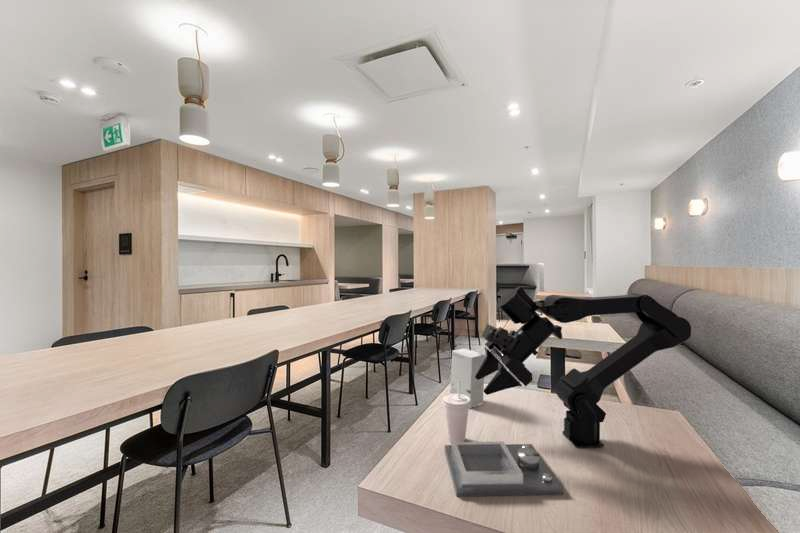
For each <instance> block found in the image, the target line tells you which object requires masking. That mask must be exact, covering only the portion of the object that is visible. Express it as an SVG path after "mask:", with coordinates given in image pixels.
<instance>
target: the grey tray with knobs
mask: <svg viewBox="0 0 800 533" xmlns="http://www.w3.org/2000/svg"><path fill="white" fill-rule="evenodd" d="M450 443H451V444H447V445H446V444H444V455H445V459H446V462H447V465H448V469H449V472H450V476H451V481H452V484H453V488H454V491H455V495H456V497H499V496H500V497H501V496H502V497H503V496H506V497H507V496H512V497H513V496H557V495H558V496H561V495H564V486H563V484H562V483H561V480H559V479H558V477H557V476H556V475H555V474H554V472H553V471H552V469H551V468H550V466H548V464H547V462H546V461H545V460H544V459H543V458H542V456H541V455H540V453H539V452H538V451H537V450H536V448H535V447H534V445H533V444H532V443H522V444H521V443H517V444H514V443H513V444H512V443H510V444H507V443H505V442H504V441H465V442H450Z"/></svg>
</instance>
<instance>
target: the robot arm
mask: <svg viewBox="0 0 800 533" xmlns="http://www.w3.org/2000/svg"><path fill="white" fill-rule="evenodd" d="M496 306H497V308H498V309H499V310H500V311H501V312H502V313H503V314H504V315H505V316H506V317H507V318H508V319H509V320H510V321H511V322H512V323H513V324H515V325H517V324H521V326H520V327H519V329H518V330H517V331H516V330H510V331H509V330H507V329H504V328H503V327H502V326H500V327H498V328H497V327H495V326H493V325H491V324H488V323H487V324H486V325H485V328H484V330H483V332H482V333H481V337H483V339H484V340H486V341H487V342H486V343H485V344H484V346H485V347H484V351H485V352H484V355H485V359H484V361H483V363H482V365H481V366H480V368H479V370H478V372H477V373H476V375H475V378H476V379H477V380H479V379H481V378H484V379H485V378H486V377H487V376H489V375H491V374H493V373H495V372H496V373H495V375H494V376H493V377H492V378H491V380H490V381H489V383H488V384H487V385H486V386H485V387H484V388H483V394H485V395H487V396H488V395H492V394H495V393H499V392H500V391H501V392H502V391H505V390H507V389H512V388H516V387H522V384H523V385H524V386H525V387H527V386H528V385H530V383H531V382H532V381H533V373H532V372H531V371H530V370H529V369H528V368H526V364H524V362H525V361H526V360H528V358H529V357H530V356H531V355H533V356H536V355H538V354H539V351H538V350H537V349H538V348H540V347H541V346H542V345H543V344H544V343H545V342H546V341H547V340H548V339H549V338H550V337H551V336H554V337H555V338H557V339H559V340H562V339H563V332H562V329H563V327H562V326H561V325H558V324H554V323H553V322H552V321H551V320H554V321H557V322H558V323H562V324H568V323H572V322H577V321H580V320H583V319H584V318H587V317H589V316H601V315H602V316H603V315H616V314H617V315H619V314H628V313H629V314H630V313H631V314H632V313H634V315H635V316H636V318H637V320H638V321H640V322H641V324H640V326H639V328H638V330H637V333H636V335H635V336H634V337H632V338H630V340H628V341H626V342H625V343H624V344H622V345H621V346H620V347H618V348H617V349H616V350H614V351H613V352H612V353H611V352H610V354H609V355H607V356H606V357H604V358H603V359H601V360H600V361H599V362H597V363H596V364H595V365H593V366H592V367H591V368H589V369H588V370H586V371H580V370H578V369H576V368H572V369H570V370H569V371H568V372H567V374H565V375H563V376H560V377H559V379H560V380H559V381H558V382H557V383H556V387H555V388H556V389H555V391H556V392H555V393H556V396H557V398H559V399H560V400H561V401H562V403H563V406H564V407H565V408H567V409H568V410H566V411H565V417H564V419H563V431H562V434H563V437H565V438H567V440H568V441H569V442H570V443H571V444H572V445H573V446H574V447H575V448H605V444H604V442H602V441H601V423H603V422H604V420H605V418H606V415H607V413H606V412H605V410H604V409H602V407H600V406H599V405H598V403H599V402H600V401H601V398H602V395H603V393H604V391H605V389H606V388H608V387H610V385H612V384H613V383H614V382H616V381H617V380H619V378H621V377H623V376H624V375H625V374H627V373H628V372H629V371H631V370H632V369H634V368H635V367H637V366H638V365H639V364H640V363H642V362H643V361H645V360H646V359H647V358H648V357H650V356H652V355H653V354H654V353H656V352H658V351H663V350H668V349H671V348H675V347H677V346H678V345H681V344H683V343H686V342H687V341H688V340H689V339H690V338H691V336H692V326H691V323H690V322H689V321H688V320H687V319H686V318H684V317H682V316H678V315H677V314H676V313H675V312H673V311H671V310H670V309H668V308H667V307H666V306H664V305H662V304H660V302H658V301H657V300H656V299H655V298H653V297H652V296H651V295H648V294H643V293H642V294H641V293H631V294H622V295H608V296H605V295H604V296H593V297H577V296H568V295H560V294H550V295H548V296H546V297H545V298H544V299H541V300H533V299H532V298H531V297H530V296H529V295H528V294H527V291H525V290H524V289H523V288H522V287H520V286H517V287H516V288H515V289H513V290H511V291H510V292H508V293H507V294H504V295H503V296H502V297H501V298H500V299H499V300H498V302H497V304H496ZM537 312H538V313H540V314H542V315H544V317H543V316H540V315H539V314H538V313H537ZM550 319H551V320H550ZM521 383H522V384H521Z"/></svg>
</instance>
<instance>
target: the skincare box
mask: <svg viewBox="0 0 800 533" xmlns="http://www.w3.org/2000/svg"><path fill="white" fill-rule="evenodd" d="M484 359H485V354H483V353H480V352H477V351H475V350H472V349H468V348H459V349H453V350H451V369H450V370H451V372H450V393H449V394H454V393H455V394H458V380H460V394H463V395H466V396H468V397H469V398H470V403H471V404H470V406H469V409H472V407H473V408H475V407H474V406H476V407H478V406H477V405H479V404H481V403H483V404H484V389H485V386H484V383H485V377H484V378H481V379H479V380H477V379H476V378H475V375H476V373H477V372H478V370H479V368H480V366H481V365H482V363H483V361H484ZM479 406H480V405H479Z"/></svg>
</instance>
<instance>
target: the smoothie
mask: <svg viewBox="0 0 800 533" xmlns="http://www.w3.org/2000/svg"><path fill="white" fill-rule="evenodd" d="M442 404H443V405H444V412H445V413H444V414H445V420H446V428H447V429H446V430H447V436H448V441H449V442H450V443H451V442H466V441H465V440H466V434H467V424H468V417H469V411H470V408H469V406H470V404H471V403H470V398H469V397H468V396H466V395H463V394H460V380H458V394H455V393H454V394H450V393H448V394H444V395H443V396H442Z"/></svg>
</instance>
